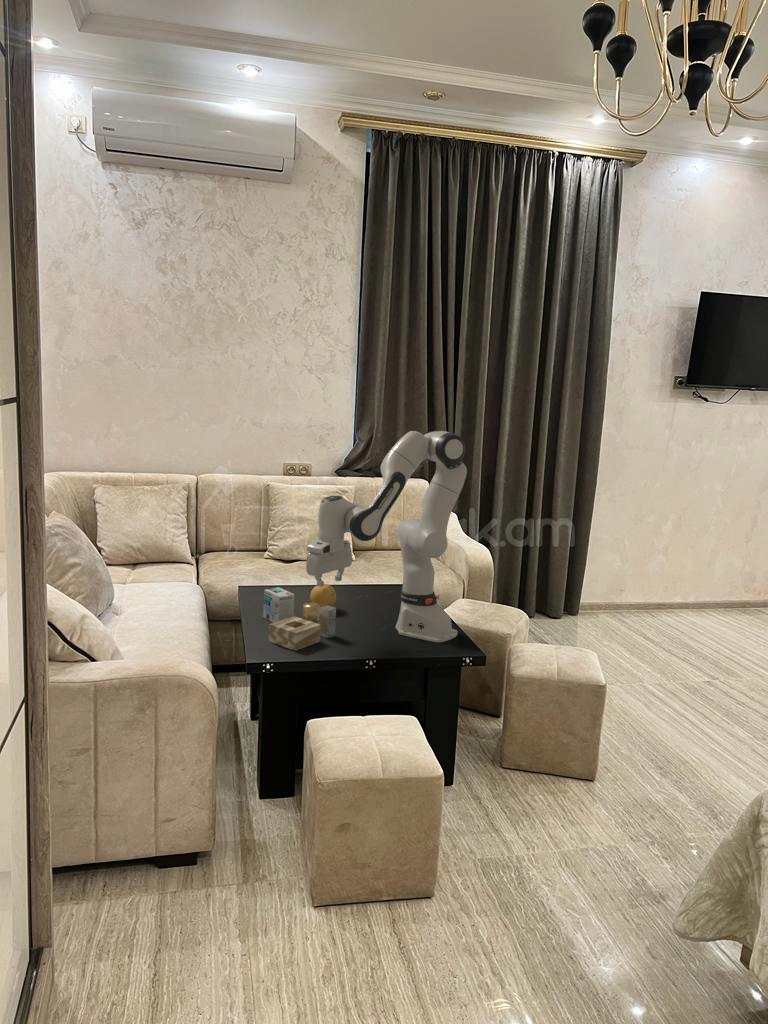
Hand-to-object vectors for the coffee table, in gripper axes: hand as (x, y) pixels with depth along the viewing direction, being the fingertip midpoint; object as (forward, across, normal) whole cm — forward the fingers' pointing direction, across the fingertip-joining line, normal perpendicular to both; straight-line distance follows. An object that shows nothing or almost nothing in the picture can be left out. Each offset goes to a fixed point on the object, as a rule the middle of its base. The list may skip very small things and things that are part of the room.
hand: (329, 583), depth 258 cm
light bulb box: (+19, 0, -23) cm, 30 cm away
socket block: (+18, +12, -4) cm, 23 cm away
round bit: (+19, -3, -10) cm, 21 cm away
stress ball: (+19, -21, -20) cm, 35 cm away
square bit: (+19, 0, 0) cm, 19 cm away
